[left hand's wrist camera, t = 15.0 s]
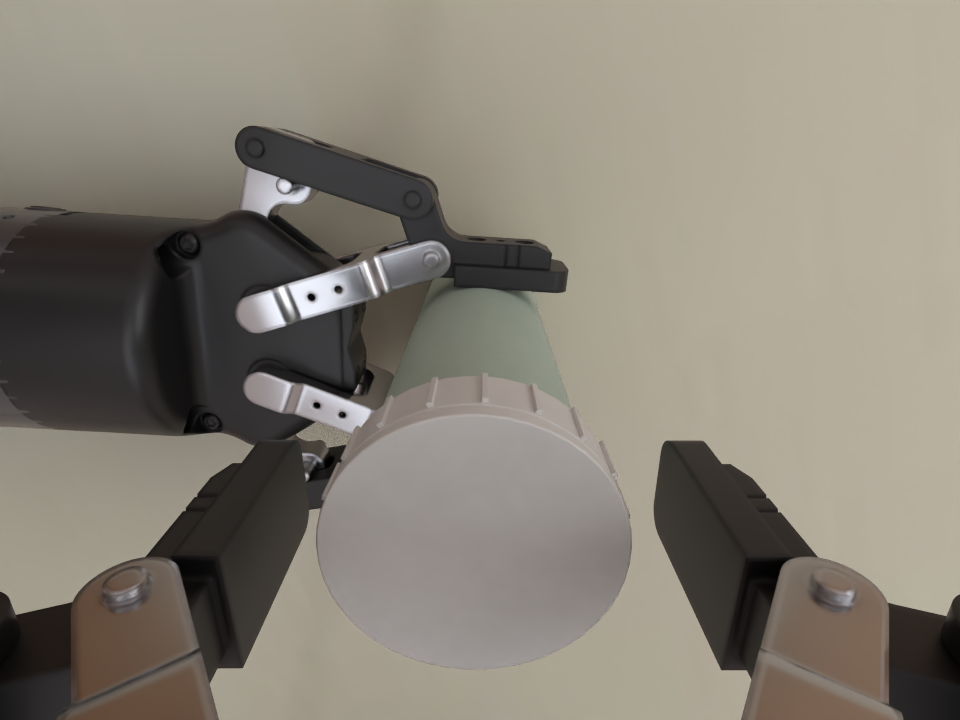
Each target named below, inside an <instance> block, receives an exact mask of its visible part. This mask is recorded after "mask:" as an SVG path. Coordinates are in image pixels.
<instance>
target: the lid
mask: <svg viewBox="0 0 960 720" xmlns="http://www.w3.org/2000/svg"><path fill="white" fill-rule="evenodd" d="M340 459H341V460H342V461H341V463H337V465H336V467H335V469H334V471H333V473H332V475H331V478H330V480H329V482H328V484H327V486H326V488H325V490H324V492H323V495H322V498H321V500H324V502H323V505H322V507H321V510H320V514H319V519H318V524H317V537H316V547H317V554H318V562H319V565H320V569H321V572H322V576H323V579H324V581H325V583H326V585H327V587H328V590H329V592H330V594H331V595H332V597H333V598H334V600H335V601H336V603H337V604H338V606H339V608H340V609H341V610H342V611H343V612H344V613H345V615H346V616H347V617H348V618H349V619H350V620H351V621H352V622H353V623H354V624H355V625H356V626H357V627H358V628H359V629H361V630H362V631H363V632H364V633H365V634H367V635H368V636H370V637H371V638H372V639H374V640H375V641H377V642H378V643H380V644H382V645H384V646H385V647H387V648H389V649H391V650H393V651H395V652H397V653H399V654H402V655H404V656H406V657H409V658H411V659H415V660H418V661H421V662H424V663H428V664H432V665H437V666H442V667H448V668H458V669H493V668H503V667H508V666H514V665H519V664H523V663H526V662H530V661H533V660H537V659H539V658H542V657H544V656H547V655H549V654H552V653H554V652H556V651H558V650H560V649H562V648H563V647H565V646H567V645H569V644H571V643H572V642H573V641H575V640H576V639H578V638H579V637H581V636H582V635H584V634H585V633H586V632H587V631H588V630H589V629H591V628H592V627H593V626H594V625H595V624H596V623H597V622H598V621H599V620H600V619H601V618H602V617H603V615H604V614H605V613H606V612H607V611H608V610H609V608H610V607H611V605H612V604H613V602H614V601H615V599H616V597H617V596H618V594H619V592H620V590H621V588H622V585H623V583H624V581H625V578H626V575H627V571H628V568H629V564H630V557H631V549H632V538H631V526H630V521H629V519H630V513H629V511H628V508H627V506H626V503H625V501H624V498H623V496H622V493H621V491H620V488H619V486H618V483H617V481H616V480H615V479H614V478H615V477H617V476H618V475H617V472H616V470H615V467H614V465H613V463H612V460H611V458H610V455H609V453H608V450H607V448H606V446H605V444H604V442H603V441H601V442H598V440H597V438H596V437H595V435H594V434H593V432H592V431H591V430H590V429H589V427H588V426H587V425H586V423H585V422H584V421H583V420H582V419H581V418H580V415H579V412H578V410H577V409H576V408H575V407H573V408H572V409H570V408H569V407H567V406H566V405H564V404H563V403H562V402H560V401H559V400H558V399H556V398H554V397H552V396H550V395H549V394H547V393H545V392H543V391H541V390H539V389H538V387H537V385H536V384H534V383H532V384H531V386H529V385H526V384H523V383H520V382H516V381H512V380H508V379H503V378H496V377H488V373H482V376H461V377H453V378H445V379H441V380H438V377H433V378H432V379H431V382H429V383H425V384H423V385H420V386H417V387H415V388H412V389H410V390H408V391H406V392H404V393H402V394H400V395H398V396H396V397H395V398H394V397H393V396H392V395H391V396H389V397H387V399H386V402H385V404H384V405H383V406H382V407H380V408H379V409H378V410H377V411H376V412H375V413H374V414H373V415H371V416H370V417H369V418H368V419H367V420H366V421H365V423H364V424H363V425H362V426H361V427H360V426H358V425H357V426H356V427H355V428H354V430H353V433H352V435H351V437H350V439H349V441H348V443H347V445H346V448H345V450H344V452H343V454H342V456H341V458H340Z"/></svg>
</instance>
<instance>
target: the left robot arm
mask: <svg viewBox="0 0 960 720" xmlns="http://www.w3.org/2000/svg"><path fill="white" fill-rule="evenodd" d="M308 517H309V500H308V493H307V485H306V478H305V471H304V463H303V456H302V449H301V445H300V443H299V442H298V441H297V440H260V441H258V442H257V444H256V445H255V446H254V448H253V449H252V450H251V451H250V453H249V454H248V455H247V457H246V458H245V459H244V461H243V462H242V463H233V464H231V465H229V466H228V467H226V468H225V469H223V470H222V471H220V472H219V473H217V474H216V475H214V476H213V477H211V478H210V479H209V481H208V482H207V483H206V484H205V485H204V487H203V488H202V489H201V490H200V491H199V493H198V496H197V497H195V498H194V499H193V500H192V501H191V502H190V504H189V505H188V506H187V507H186V511H183V512H182V513H181V515H180V516H179V517H178V518H177V519H176V521H175V522H174V523H173V524H172V525H171V527H170V528H169V529H168V530H167V532H166V533H165V534H164V535H163V536H162V538H161V539H160V540H159V541H158V542H157V544H156V545H155V546H154V547H153V549H152V550H151V551H150V552H149V553H148V555H147V556H146V557H143V558H138V559H133V560H130V561H126V562H123V563H121V564H118V565H116V566H114V567H112V568H109V569H107V570H106V571H104V572H102V573H101V574H99V575H97V576H96V577H95V578H93V579H92V580H90V581H89V582H88V583H87V584H86V585H85V586H84V587H83V588H82V589H81V590H80V591H79V592H78V594H77V595H76V597H75V598H74V600H73V602H71V603H67V604H63V605H58V606H54V607H49V608H45V609H41V610H36V611H32V612H27V613H23V614H18V615H16V614H15V612H14V609H13V607H12V604H11V602H10V600H9V597H8V596H7V595H6V594H4V593H2V592H0V720H219V719H218V715H217V711H216V707H215V703H214V699H213V696H212V692H211V688H210V682H211V680H212V678H213V676H214V674H215V672H216V670H217V668H243V667H244V664H245V662H246V660H247V658H248V656H249V653H250V651H251V649H252V647H253V645H254V643H255V640H256V638H257V636H258V634H259V632H260V629H261V627H262V625H263V623H264V621H265V619H266V616H267V614H268V612H269V610H270V608H271V605H272V603H273V601H274V599H275V597H276V595H277V592H278V590H279V588H280V586H281V584H282V582H283V579H284V577H285V575H286V573H287V571H288V568H289V566H290V564H291V562H292V560H293V558H294V555H295V553H296V551H297V549H298V547H299V544H300V542H301V540H302V538H303V536H304V533H305V531H306V528H307V523H308ZM654 520H655V525H656V529H657V533H658V535H659V537H660V539H661V541H662V544H663V546H664V548H665V550H666V552H667V554H668V557H669V559H670V561H671V563H672V565H673V567H674V569H675V572H676V574H677V576H678V578H679V580H680V582H681V585H682V587H683V589H684V591H685V593H686V595H687V597H688V600H689V602H690V604H691V606H692V608H693V610H694V612H695V615H696V617H697V619H698V621H699V623H700V625H701V628H702V630H703V632H704V634H705V636H706V638H707V640H708V643H709V645H710V647H711V649H712V651H713V653H714V655H715V658H716V660H717V662H718V664H719V666H720V668H721V670H747V671H748V673H749V675H750V677H751V679H752V680H751V684H750V688H749V692H748V696H747V699H746V703H745V707H744V711H743V715H742V719H741V720H960V595H958V596H956V597H955V598H954V600H953V602H952V604H951V607H950V609H949V612H948V614H947V616H943V615H938V614H934V613H929V612H925V611H921V610H916V609H912V608H907V607H903V606H898V605H894V604H891V603H887V600H886V598H885V597H884V595H883V594H882V592H881V591H880V590H879V589H878V588H877V587H876V586H875V585H874V584H873V583H872V582H871V581H870V580H868V579H867V578H865V577H864V576H863V575H861V574H859V573H858V572H856V571H854V570H853V569H851V568H848V567H846V566H844V565H842V564H839V563H837V562H834V561H830V560H827V559H822V558H818V557H817V556H816V554H815V553H814V552H813V551H812V550H811V548H810V547H809V546H808V545H807V544H806V542H805V541H804V540H803V539H802V538H801V536H800V535H799V534H798V533H797V532H796V530H795V529H794V528H793V527H792V526H791V524H790V523H789V522H788V521H787V519H786V518H785V517H784V516H783V515H782V513H778V509H777V507H776V506H775V505H774V504H773V503H772V501H771V500H770V499H769V498H766V494H765V493H764V492H763V491H762V489H761V488H760V487H759V486H758V485H757V483H756V482H755V481H754V480H753V479H752V478H751V477H749V476H748V475H746V474H745V473H743V472H742V471H740V470H739V469H737V468H735V467H734V466H732V465H731V464H721V462H720V461H719V460H718V459H717V457H716V456H715V455H714V453H713V452H712V451H711V449H710V448H709V447H708V446H707V444H706V443H705V442H704V441H665V442H664V444H663V446H662V449H661V456H660V463H659V470H658V477H657V485H656V492H655V499H654Z"/></svg>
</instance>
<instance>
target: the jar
mask: <svg viewBox="0 0 960 720" xmlns="http://www.w3.org/2000/svg"><path fill="white" fill-rule="evenodd" d="M453 285H454V278H436V279H433V280H432V283H431V285H430V288H429V290H428V293H427V295H426V298H425V301H424V303H423V306H422V308H421V311H420V313H419V316H418V318H417V321H416V323H415V326H414V328H413V331H412V333H411V336H410V338H409V341H408V343H407V346H406V349H405V351H404V354H403V356H402V359H401V361H400V364H399V366H398V369H397V371H396V374H395V376H394V379H393V381H392V384H391V386H390V389H389V391H388V394H387V396H386V399H387V397H389V396H391V395H392V396H393V397H394V398H395V397H396V396H398V395H400V394H402V393H404V392H406V391H408V390H410V389H412V388H415V387H417V386H420V385H423V384H425V383H429V382H431V379H432V378H433V377H438V380H441V379H445V378H453V377H461V376H482V373H488V377H496V378H503V379H508V380H512V381H516V382H520V383H523V384H526V385H529V386H531V384H532V383H534V384H536V385H537V387H538V389H539V390H541V391H543V392H545V393H547V394H549V395H550V396H552V397H554V398H556V399H558V400H559V401H560V402H562V403H563V404H564V405H566V406H567V407H569V408H570V409H571V406H570V403H569V400H568V397H567V394H566V391H565V388H564V385H563V382H562V379H561V376H560V373H559V370H558V367H557V364H556V361H555V359H554V356H553V353H552V350H551V347H550V344H549V341H548V338H547V335H546V332H545V329H544V326H543V323H542V320H541V317H540V314H539V311H538V308H537V305H536V303H535V300H534V297H533V294H532V291H516V290H500V289H487V288H467V287H453ZM386 399H385V402H386ZM385 402H384V404H385ZM384 404H383V405H384Z"/></svg>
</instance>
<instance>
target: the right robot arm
mask: <svg viewBox="0 0 960 720" xmlns="http://www.w3.org/2000/svg"><path fill="white" fill-rule="evenodd" d="M235 149H236V153H237V155H238V157H239V159H240V160H241V161H242V162H243V164H245V165H246V168H245V175H244V181H243V188H242V194H241V200H240V207H239V210H238V211H233V212H230V213H228V214H226V215H224V216H222V217H220V218H218V219H216V220H195V219H179V218H163V217H147V216H132V215H116V214H99V213H84V212H68V211H67V210H64V209H59V208H52V207H43V206H30V207H26V208H24V209H22V208H6V207H0V426H4V427H22V428H40V429H57V430H76V431H94V432H114V433H132V434H149V435H167V436H187V435H195V434H204V433H214V432H219V433H225V434H229V435H232V436H235V437H237V438H239V439H241V440H243V441H245V442H247V443H249V444H251V445H254V446H255V445H256V444H257V442H258V441H260V440H297V441H298V442H299V443H300V445H301V449H302V456H303V463H304V471H305V478H306V485H307V493H308V500H309V510H311V509H317V508H321V507H322V505H323V502H324V500H321V498H322V495H323V492H324V490H325V488H326V486H327V484H328V482H329V480H330V478H331V475H332V473H333V471H334V469H335V467H336V465H337V463H341V461H342V460H341V459H340V458H341V456H342V454H343V452H344V450H345V448H346V445H342V446H336V447H330V448H327V446H326V443H325V442H324V441H322V440H317V441H305V440H302V439H300V438H299V437H297V436H296V435H295V434H297V433H298V432H300V431H302V430H303V429H305V428H307V427H308V426H310V425H312V424H313V423H315V422H318V423H321V424H324V425H326V426H329V427H332V428H335V429H337V430H340V431H343V432H346V433H348V434H351V435H352V433H353V430H354V428H355V427H356V426H357V425H358V426H360V427H361V426H362V425H363V424H364V423H365V421H366V420H367V419H368V418H369V417H370V416H371V415H373V414H374V413H375V412H376V411H377V410H378V409H379V408H380V407H382V406H383V404H384V402H385V399H386V396H387V394H388V391H389V389H390V386H391V384H392V381H393V379H394V375H393V374H392V373H390V372H389V371H386V370H384V369H381V368H379V367H376V366H373V365H371V364H368V363H366V348H365V344H364V341H363V337H362V334H361V325H362V321H363V317H364V314H365V310H366V303H365V302H366V301H370V300H373V299H375V298H378V297H380V296H382V295H384V294H386V293H388V292H391V291H394V290H397V289H401V288H404V287H408V286H411V285H415V284H418V283H422V282H425V281H429V280H432V279H436V278H454V285H453V287H467V288H487V289H500V290H516V291H533V292H550V293H561V292H565V291H566V285H567V277H568V269H567V267H566V266H565V265H564V263H563V262H561V261H558V260H553V259H551V257H552V253H551V252H550V250H549V249H548V247H547V246H545V245H543V244H541V243H539V242H537V241H535V240H529V239H513V238H497V237H481V236H466V235H460V234H458V233H456V232H454V231H453V230H452V229H451V228H450V227H449V226H448V225H447V223H446V221H445V219H444V215H443V212H442V209H441V206H440V203H439V199H438V189H437V186H436V184H435V183H434V182H433V181H432V180H431V179H430V178H428V177H426V176H423V175H420V174H417V173H414V172H411V171H408V170H405V169H402V168H399V167H396V166H393V165H390V164H387V163H384V162H381V161H378V160H375V159H372V158H369V157H366V156H363V155H360V154H357V153H354V152H351V151H348V150H345V149H342V148H339V147H336V146H334V145H331V144H328V143H325V142H322V141H319V140H316V139H313V138H310V137H307V136H304V135H301V134H298V133H295V132H292V131H289V130H285V129H278V128H271V127H260V126H248V127H245V128H243V129H242V130H241V131H240V132H239V133H238V135H237V137H236V140H235ZM318 190H319V191H322V192H325V193H328V194H331V195H334V196H337V197H340V198H343V199H347V200H350V201H353V202H356V203H359V204H362V205H365V206H368V207H371V208H374V209H377V210H380V211H383V212H387V213H390V214H393V215H396V216H399V217H400V219H401V222H402V225H403V228H404V231H405V234H406V237H407V238H405V239H402V240H399V241H395V242H392V243H388V244H380V245H376V246H373V247H369V248H366V249H363V250H359V251H356V252H352V253H349V254H346V255H342V256H339V257H335V258H334V257H332V256H331V255H330V254H329V253H327V252H326V251H325V250H323V249H322V248H321V247H319V246H318V245H317V244H315V243H314V242H313V241H311V240H310V239H309V238H308V237H306V236H305V235H304V234H302V233H301V232H300V231H298V230H297V229H296V228H294V227H293V226H292V225H291V224H289V223H288V222H287V221H285V220H284V219H283V218H281V217H280V216H279V215H277V214H278V211H279V209H280V207H281V206H282V205H283V204H285V203H286V204H293V205H294V204H300V203H304V202H307V201H310V200H311V199H313V198H314V197H315V196H316V194H317V192H318ZM353 394H356V395H353Z"/></svg>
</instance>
